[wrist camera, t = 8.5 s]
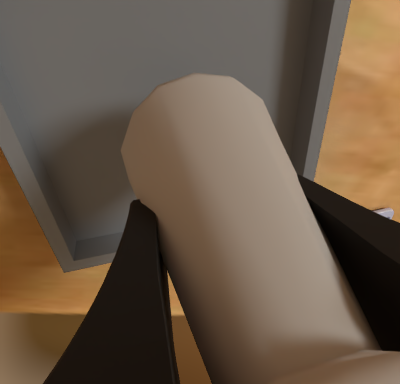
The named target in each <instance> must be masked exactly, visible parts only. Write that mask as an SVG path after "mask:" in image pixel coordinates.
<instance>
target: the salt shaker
mask: <svg viewBox="0 0 400 384" xmlns="http://www.w3.org/2000/svg"><path fill="white" fill-rule="evenodd" d="M121 154H122V157H123V161H124V164H125V168H126V172H127V175H128V179H129V182H130V184H131V186H132V189H133V191H134V193H135V196H136V198H137V199H140V201H141V203H142V204H144V205H146V206H147V207H148V208H150V209H151V210H152V211H153V212H154V213H155V214H156V221H157V232H158V242H159V250H160V252H161V255H162V258H163V262H164V264H165V266H166V269H167V271H168V273H169V276H170V278H171V280H172V283H173V285H174V288H175V291H176V293H177V296H178V298H179V301H180V303H181V306H182V308H183V311H184V313H185V316H186V318H187V321H188V324H189V326H190V329H191V331H192V334H193V336H194V339H195V342H196V344H197V347H198V349H199V352H200V354H201V356H202V359H203V362H204V364H205V366H206V370H207V372H208V375H209V377H210V380H211V382H212V384H400V352H395V351H382V350H381V348H380V346H379V344H378V342H377V340H376V338H375V336H374V334H373V332H372V329H371V327H370V325H369V323H368V321H367V319H366V317H365V315H364V313H363V311H362V309H361V307H360V304H359V302H358V300H357V298H356V296H355V294H354V292H353V290H352V288H351V286H350V284H349V282H348V279H347V277H346V275H345V273H344V271H343V269H342V267H341V265H340V263H339V261H338V259H337V257H336V255H335V252H334V250H333V248H332V246H331V244H330V242H329V240H328V238H327V236H326V234H325V232H324V230H323V228H322V227H321V225H320V223H319V221H318V220H317V218H316V216H315V214H314V213H313V211H312V209H311V207H310V206H309V203H308V201H307V199H306V197H305V194H304V192H303V190H302V188H301V185H300V183H299V181H298V177H297V173H296V171H295V169H294V167H293V165H292V163H291V161H290V159H289V157H288V155H287V153H286V150H285V148H284V146H283V144H282V142H281V140H280V138H279V136H278V133H277V131H276V129H275V126H274V124H273V122H272V120H271V117H270V115H269V113H268V111H267V108H266V106H265V104H264V102H263V99H261V98H260V97H259V96H257V95H256V94H255V93H253V92H252V91H251V90H249V89H248V88H247V87H245V86H244V85H243V84H241V83H240V82H239V81H237V80H236V79H235V78H233V77H230V76H224V75H213V74H203V73H192V74H189V75H186V76H183V77H180V78H177V79H174V80H171V81H168V82H165V83H163V84H160V85H157V86H156V88H155V89H154V90H153V91H152V92H151V93H150V94H149V95H148V96H147V97H146V98H145V100H144V101H143V102H142V103H141V104H140V105H139V106H138V107H137V108H136V109H135V110H134V112H133V114H132V117H131V120H130V123H129V126H128V129H127V132H126V135H125V138H124V142H123V145H122V148H121Z"/></svg>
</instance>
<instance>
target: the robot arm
mask: <svg viewBox="0 0 400 384" xmlns="http://www.w3.org/2000/svg"><path fill="white" fill-rule="evenodd" d="M297 177H298V181H299V183H300V185H301V188H302V190H303V192H304V194H305V197H306V199H307V201H308V203H309V206H310V207H311V209H312V211H313V213H314V214H315V216H316V218H317V220H318V221H319V223H320V225H321V227H322V228H323V230H324V232H325V234H326V236H327V238H328V240H329V242H330V244H331V246H332V248H333V250H334V252H335V255H336V257H337V259H338V261H339V263H340V265H341V267H342V269H343V271H344V273H345V275H346V277H347V279H348V282H349V284H350V286H351V288H352V290H353V292H354V294H355V296H356V298H357V300H358V302H359V304H360V307H361V309H362V311H363V313H364V315H365V317H366V319H367V321H368V323H369V325H370V327H371V329H372V332H373V334H374V336H375V338H376V340H377V342H378V344H379V346H380V348H381V350H382V351H395V352H400V223H398V222H396V221H394V220H391V219H392V216H393V214H394V211H393V210H392V209H391V208H385V209H380V210H376V211H371V210H369V209H367V208H365V207H362V206H360V205H358V204H356V203H354V202H352V201H350V200H348V199H346V198H344V197H342V196H340V195H338V194H336V193H334V192H332V191H330V190H328V189H326V188H325V187H323V186H321V185H319V184H317V183H315V182H313V181H311V180H309V179H307V178H305V177H303V176H301V175H299V174H297ZM43 384H180V380H179V374H178V369H177V363H176V357H175V351H174V342H173V332H172V321H171V309H170V297H169V286H168V275H167V269H166V266H165V264H164V262H163V258H162V255H161V252H160V250H159V242H158V232H157V221H156V214H155V213H154V212H153V211H152V210H151V209H150V208H148V207H147V206H146V205H144V204H142V203H141V201H140V199H137V200H133V201H132V202H131V203H130V208H129V213H128V218H127V222H126V225H125V228H124V232H123V235H122V238H121V240H120V243H119V246H118V249H117V252H116V254H115V257H114V259H113V261H112V264H111V266H110V268H109V271H108V273H107V275H106V277H105V280H104V282H103V284H102V286H101V288H100V290H99V292H98V294H97V296H96V298H95V300H94V302H93V304H92V306H91V307H90V309H89V311H88V313H87V315H86V317H85V319H84V321H83V322H82V324H81V325H80V327H79V329H78V330H77V332H76V334H75V335H74V337H73V339H72V340H71V342H70V344H69V345H68V347H67V349H66V350H65V352H64V353H63V355H62V356H61V358H60V359H59V361H58V362H57V364H56V365H55V367H54V369H53V370H52V371H51V373H50V374H49V376H48V377H47V379H46V380H45V381H44V383H43Z"/></svg>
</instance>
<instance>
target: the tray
mask: <svg viewBox="0 0 400 384" xmlns="http://www.w3.org/2000/svg"><path fill="white" fill-rule="evenodd" d="M350 3H351V0H0V147H1V149H2V151H3V153H4V155H5V157H6V159H7V161H8V163H9V165H10V167H11V169H12V171H13V173H14V175H15V177H16V179H17V181H18V183H19V185H20V187H21V188H22V190H23V192H24V194H25V196H26V198H27V200H28V202H29V204H30V206H31V208H32V210H33V212H34V214H35V216H36V218H37V220H38V222H39V224H40V226H41V228H42V230H43V232H44V234H45V236H46V238H47V240H48V242H49V244H50V246H51V248H52V250H53V252H54V254H55V256H56V258H57V260H58V262H59V264H60V266H61V268H62V270H63V272H64V273H65V272H70V271H75V270H79V269H84V268H88V267H93V266H98V265H102V264H107V263H112V261H113V259H114V257H115V254H116V252H117V249H118V246H119V243H120V240H121V238H122V235H123V232H124V228H125V225H126V222H127V218H128V213H129V208H130V203H131V202H132V201H133V200H137V198H136V196H135V193H134V191H133V189H132V186H131V184H130V182H129V179H128V175H127V172H126V168H125V164H124V161H123V157H122V154H121V148H122V145H123V142H124V138H125V135H126V132H127V129H128V126H129V123H130V120H131V117H132V114H133V112H134V110H135V109H136V108H137V107H138V106H139V105H140V104H141V103H142V102H143V101H144V100H145V98H146V97H147V96H148V95H149V94H150V93H151V92H152V91H153V90H154V89H155V88H156V86H157V85H160V84H163V83H165V82H168V81H171V80H174V79H177V78H180V77H183V76H186V75H189V74H192V73H203V74H213V75H224V76H230V77H233V78H235V79H236V80H237V81H239V82H240V83H241V84H243V85H244V86H245V87H247V88H248V89H249V90H251V91H252V92H253V93H255V94H256V95H257V96H259V97H260V98H261V99H263V102H264V104H265V106H266V108H267V111H268V113H269V115H270V117H271V120H272V122H273V124H274V126H275V129H276V131H277V133H278V136H279V138H280V140H281V142H282V144H283V146H284V148H285V150H286V153H287V155H288V157H289V159H290V161H291V163H292V165H293V167H294V169H295V171H296V173H297V174H299V175H301V176H303V177H305V178H307V179H309V180H311V181H314V177H315V172H316V167H317V162H318V157H319V152H320V148H321V143H322V138H323V133H324V128H325V123H326V119H327V114H328V109H329V104H330V99H331V94H332V90H333V85H334V80H335V75H336V70H337V66H338V61H339V56H340V51H341V46H342V41H343V37H344V32H345V27H346V22H347V17H348V12H349V8H350Z"/></svg>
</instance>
